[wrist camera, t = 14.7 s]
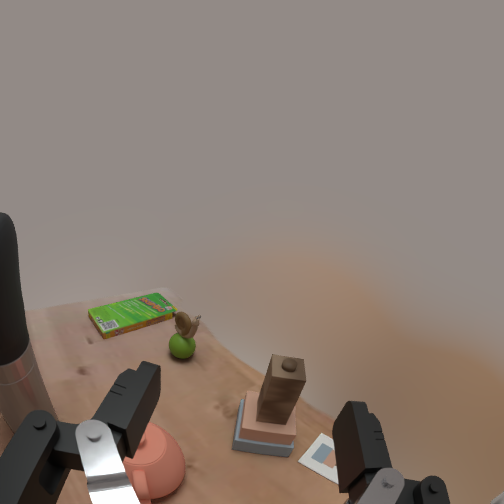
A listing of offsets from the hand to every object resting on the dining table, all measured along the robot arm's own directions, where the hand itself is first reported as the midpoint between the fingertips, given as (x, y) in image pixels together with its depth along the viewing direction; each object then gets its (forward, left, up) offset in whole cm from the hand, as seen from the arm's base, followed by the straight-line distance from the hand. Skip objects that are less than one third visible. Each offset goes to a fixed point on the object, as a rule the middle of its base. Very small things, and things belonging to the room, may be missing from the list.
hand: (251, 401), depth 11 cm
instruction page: (+6, +24, -32) cm, 41 cm away
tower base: (-7, +21, -32) cm, 39 cm away
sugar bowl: (-13, +1, -32) cm, 35 cm away
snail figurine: (-30, +24, -32) cm, 50 cm away
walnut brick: (-7, +22, -26) cm, 34 cm away
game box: (-47, +23, -33) cm, 62 cm away
